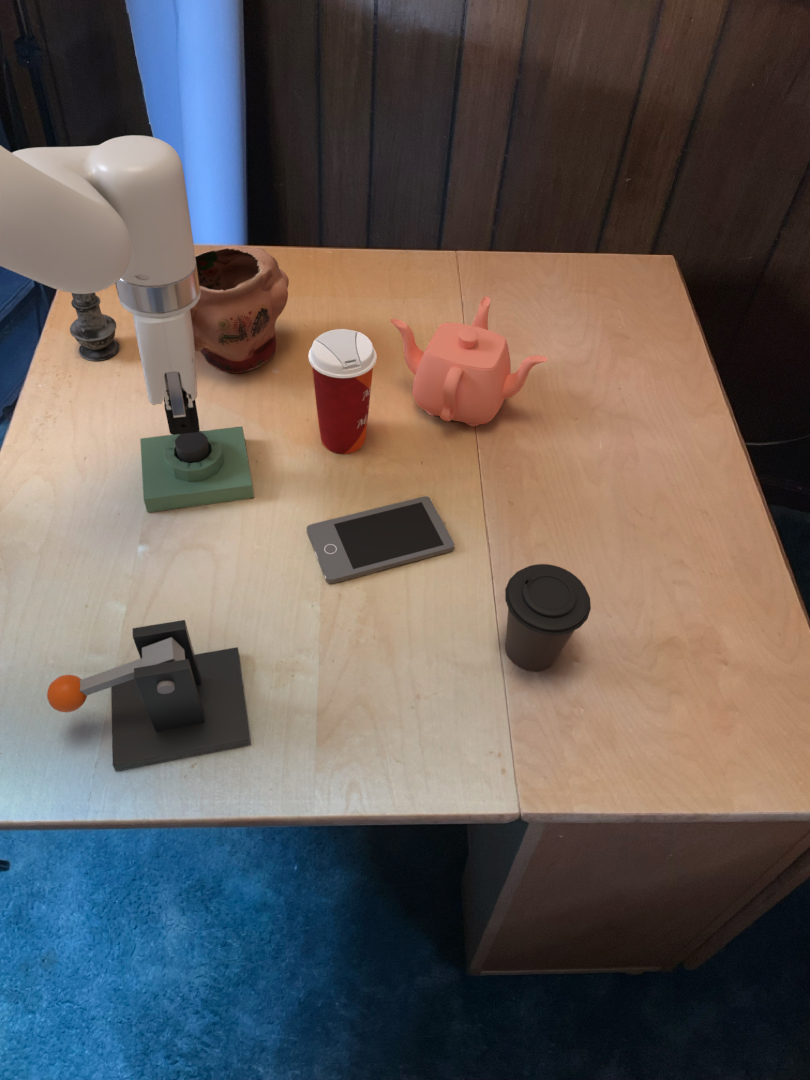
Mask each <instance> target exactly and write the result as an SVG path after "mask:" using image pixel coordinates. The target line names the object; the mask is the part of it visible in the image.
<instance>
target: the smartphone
mask: <svg viewBox="0 0 810 1080" xmlns="http://www.w3.org/2000/svg"><path fill="white" fill-rule="evenodd" d="M306 534H307V537H308V538H309V541H310V544H311V547H312V548H313V552H314V554H315V556H316V559H317V562H318V564H319V566H320V569H321V571H322V574H323V576H324V577H323V578H324V579H325V582H326V583H327V584H336V583H340V582H343V581H347V580H350V579H354V578H357V577H362V576H365V575H369V574H372V573H377V572H380V571H384V570H388V569H391V568H394V567H399V566H402V565H405V564H410V563H413V562H417V561H420V560H424V559H428V558H432V557H435V556H438V555H443V554H446V553H450V552H453V550H454V549H455V542H454V539H453V538H452V536H451V534H450V532H449V531H448V529H447V527H446V525H445V523H444V521H443V519H442V518H441V516H440V514H439V512H438V510H437V508H436V507H435V505H434V503H433V501H432V499H431V497H430V496H428V495H425V496H419V497H416V498H412V499H407V500H404V501H403V500H402V501H399V502H396V503H390V504H387V505H382V506H379V507H375V508H371V509H366V510H362V511H359V512H355V513H351V514H347V515H346V514H345V515H343V516H339V517H335V518H331V519H327V520H322V521H318V522H314V523H311V524H309V525H307V526H306Z"/></svg>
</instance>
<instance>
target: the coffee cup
mask: <svg viewBox="0 0 810 1080" xmlns="http://www.w3.org/2000/svg"><path fill="white" fill-rule="evenodd" d="M504 590H505V591H504V593H505V594H504V600H505V603H506V606H507V621H506V630H505V631H506V632H505V652H506V655H507V657H508V659H509V660H510V661H511V663H513V664H514V665H515V666H516V667H518V668H519V669H522V670H524V671H527V672H534V673H535V672H536V673H537V672H542V671H545V670H547V669H549V668H551V667H552V666H553V664H554V663H555V662H556V660H557V659H558V657H559V655H561V652H562V651H563V650H564V648H565V646H566V645H567V644H568V642H569V640H570V639H571V637H572V636H573V634H574V632H575V631H576V630H578V629H580V628H581V627H582V626H583V625H584V624H585V623H586V622H587V620H588V618H589V615H590V612H591V609H592V606H591V597H590V595H589V593H588V590H587V588H586V586H585V585H584V583H583V582H582V581H581V580H580V579H579V577H578V576H576V575H575V574H574V573H572V572H571V571H569V570H567V569H566V568H563V567H561V566H557V565H555V564H554V565H553V564H547V563H539V564H532V565H528V566H525V567H524V568H521V569H520V570H518V571H516V572H515V573H514V574H513V575H512V576H511V577H510V578H509V580H508V582H507V584H506V587H505V589H504Z"/></svg>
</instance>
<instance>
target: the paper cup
mask: <svg viewBox="0 0 810 1080" xmlns="http://www.w3.org/2000/svg"><path fill="white" fill-rule="evenodd" d="M377 358H378V357H377V352H376V349H375V348H374V345H373V343H372V341H371V339H370V338H369V337H368V336H367V335H366V334H364V333H362V332H360V331H357V330H354V329H353V330H352V329H348V328H335V329H331V330H328V331H325V332H323V333H321V334H319V335H318V336H317V337H316V338H314V340H313V342H312V345H311V347H310V348H309V351H308V362H309V364H310V365H311V369H312V378H313V386H314V397H315V404H316V413H317V422H318V431H319V437H320V442H321V444H322V446H323V447H324V448H325V449H326V450H328V451H329V452H331V453H334V454H338V455H348V454H352V453H355V452H357V451H359V450H360V449H361V448H362V447H363V446H364V445H365V442H366V438H367V429H368V421H369V414H370V413H369V412H370V403H371V402H370V401H371V394H372V393H371V391H372V382H373V373H374V366H375V365H376V363H377V360H378V359H377Z"/></svg>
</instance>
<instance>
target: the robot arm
mask: <svg viewBox="0 0 810 1080" xmlns="http://www.w3.org/2000/svg"><path fill="white" fill-rule="evenodd" d="M185 179H186V178H185V173H184V166H183V162H182V160H181V157H180V155H179V153H178V152H177V151H176V150H175V148H174V147H173V146H172V145H170V144H169V143H167V142H166V141H164V140H162V139H159V138H158V137H153V136H149V135H140V134H139V135H137V134H136V135H135V134H131V135H123V136H117V137H112V138H110V139H108V140H106V141H104V142H101V143H100V144H96V145H84V146H83V145H81V146H40V147H38V146H37V147H28V148H23V149H18V150H15V151H12V152H11V151H9V150H8V149H6V148H5V147H4V146H2V145H1V144H0V267H2V268H4V269H6V270H9V271H12V272H13V273H16V274H18V275H20V276H23V277H25V278H28V279H30V280H32V281H35V282H37V283H39V284H41V285H44V286H47V287H49V288H52V289H54V290H57V291H61V292H64V293H70V294H71V293H76V294H89V293H95V294H96V293H99V292H102V291H105V290H107V289H109V288H110V287H112V286H113V285H115V288H116V292H117V297H118V301H119V304H120V305H121V307H123V309H124V310H126V311H127V312H128V313H130V314H132V318H133V325H134V331H135V337H136V342H137V343H136V344H137V347H138V352H139V357H140V363H141V367H142V373H143V378H144V383H145V388H146V389H145V390H146V394H147V399H148V402H149V403H150V405H152V406H156V405H162V404H163V403H164V404H163V405H164V406H163V407H164V411H165V416H166V420H167V426H168V431H169V435H176V434H185V433H194V432H198V431H201V430H200V422H199V421H200V420H199V416H198V410H197V403H196V399H197V398H198V382H197V381H198V379H197V378H198V377H197V361H196V351H195V345H194V335H193V327H192V320H191V313H190V309H191V308H193V307H194V306H195V305H196V304H197V303H198V301H199V299H200V295H201V292H200V285H199V278H198V271H197V264H196V258H195V255H196V252H195V244H194V238H193V237H194V236H193V230H192V229H193V228H192V223H191V215H190V208H189V201H188V194H187V187H186V180H185Z"/></svg>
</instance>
